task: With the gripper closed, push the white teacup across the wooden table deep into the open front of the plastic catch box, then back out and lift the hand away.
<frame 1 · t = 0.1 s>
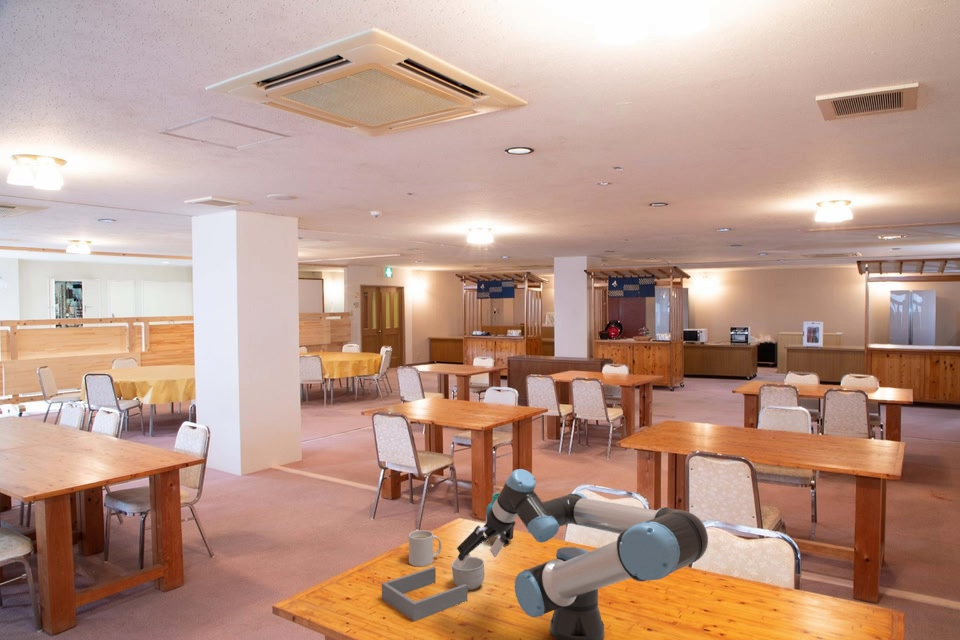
hand: (476, 559, 189), 15 cm above the table, tool tilted 35°, fingers open, 13 cm apart
mug: (423, 562, 226), on the table
teacup: (469, 584, 207), on the table
catch box: (424, 600, 195), on the table
vase: (499, 543, 244), on the table
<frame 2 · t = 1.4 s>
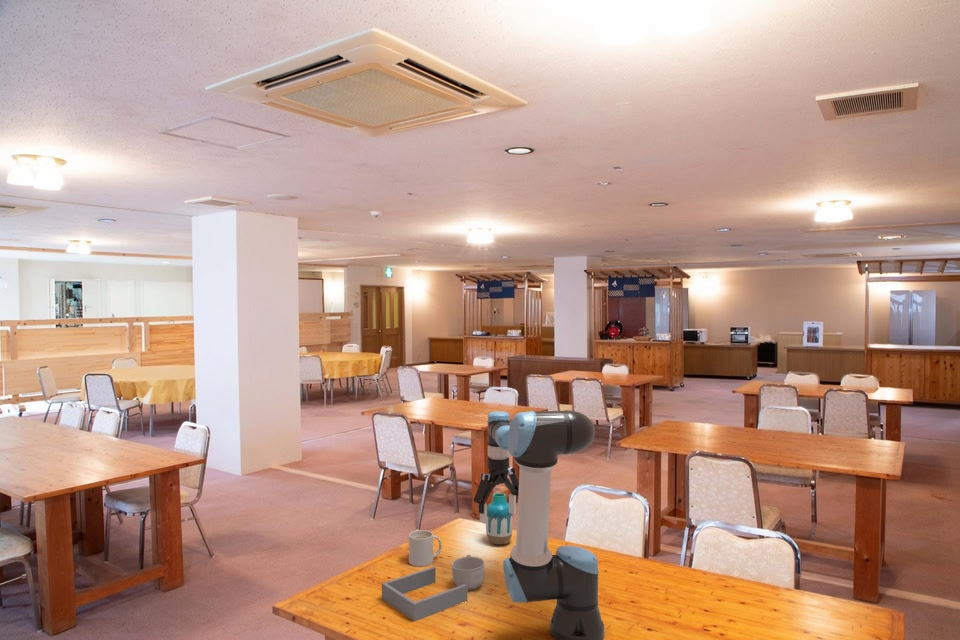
hand: (498, 517, 214), 20 cm above the table, tool pointing down, fingers open, 13 cm apart
nothing on the table moved.
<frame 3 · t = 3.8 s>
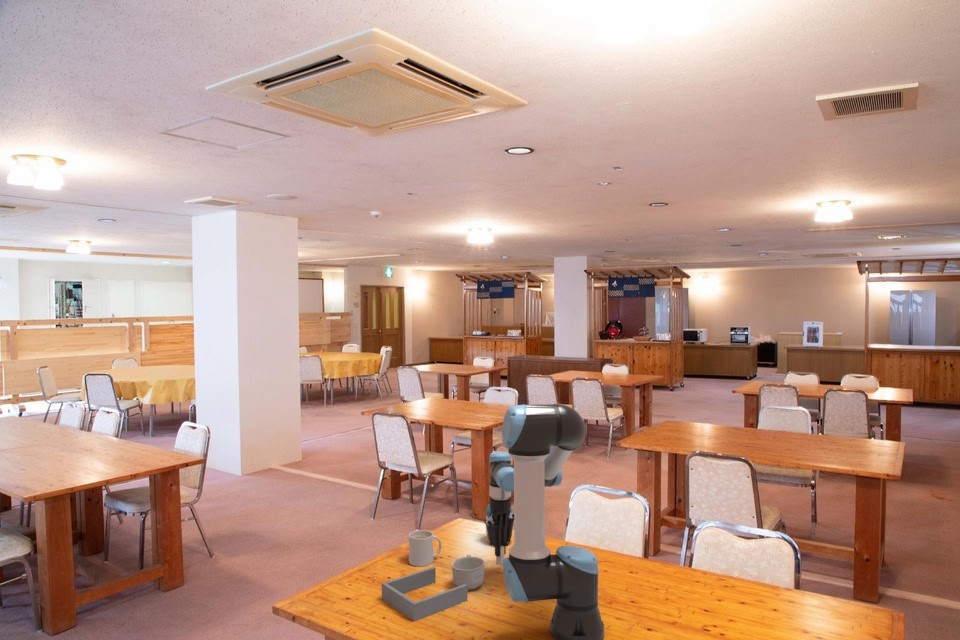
hand: (500, 564, 216), 3 cm above the table, tool pointing down, fingers closed
nothing on the table moved.
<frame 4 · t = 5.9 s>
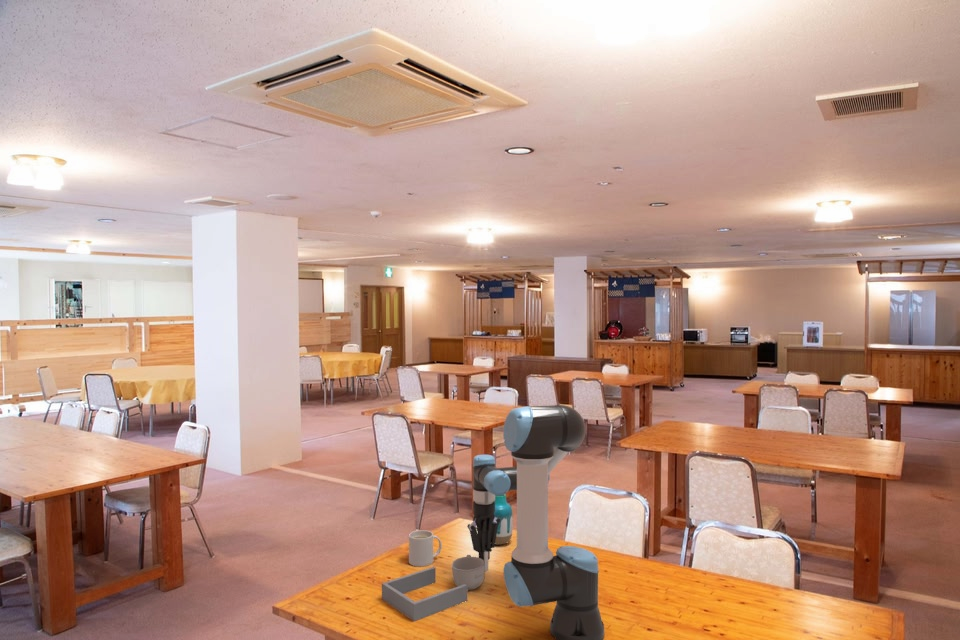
hand: (484, 570, 211), 3 cm above the table, tool pointing down, fingers closed
teacup: (469, 584, 207), on the table, touching gripper
everything else where it was.
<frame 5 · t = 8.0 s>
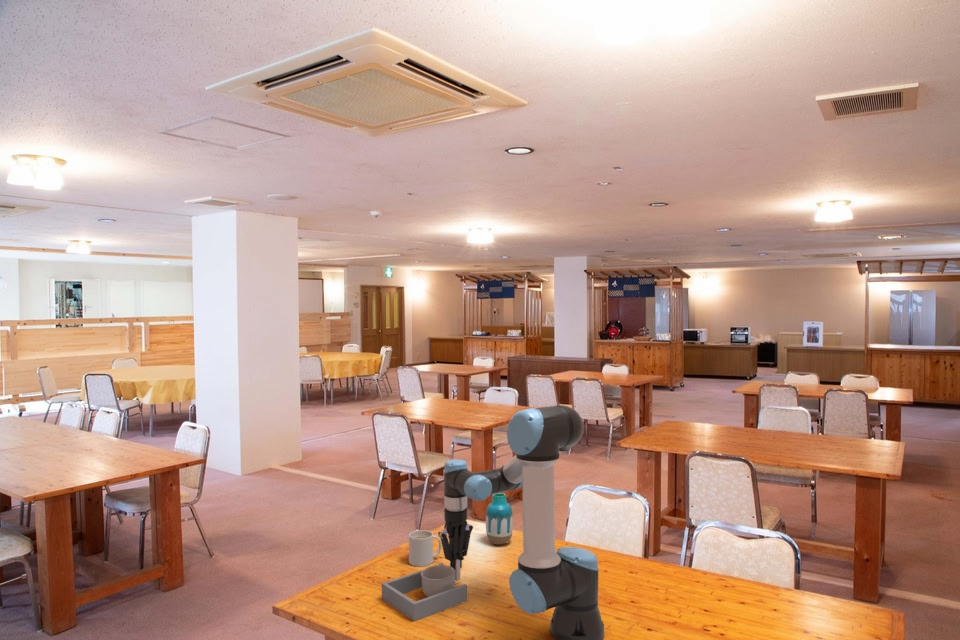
hand: (456, 579, 204), 3 cm above the table, tool pointing down, fingers closed
teacup: (439, 594, 200), on the table, touching gripper
everything else where it was.
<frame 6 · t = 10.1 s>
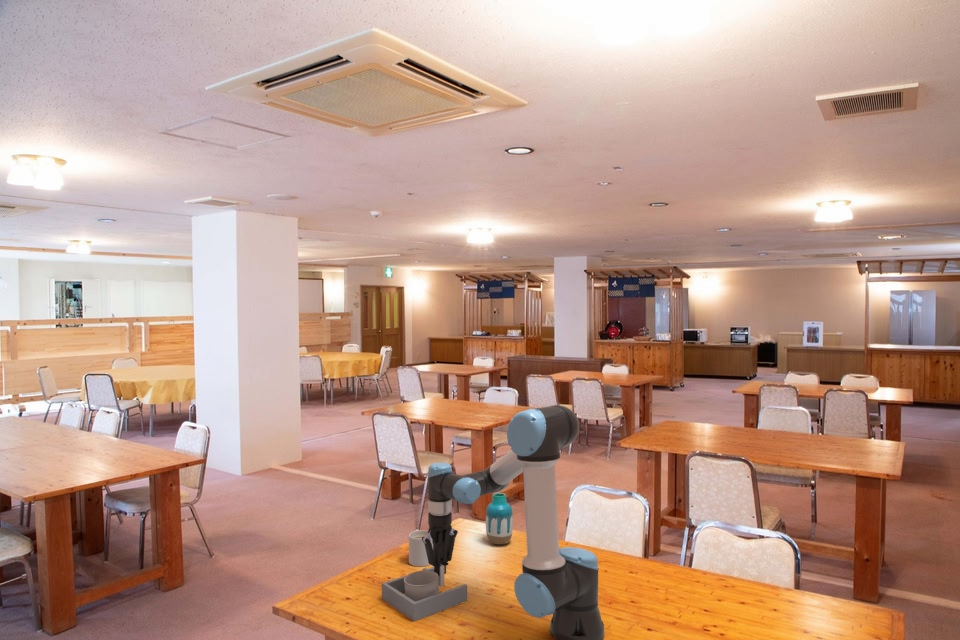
hand: (440, 584, 199), 3 cm above the table, tool pointing down, fingers closed
teacup: (423, 600, 196), on the table, touching gripper
everything else where it was.
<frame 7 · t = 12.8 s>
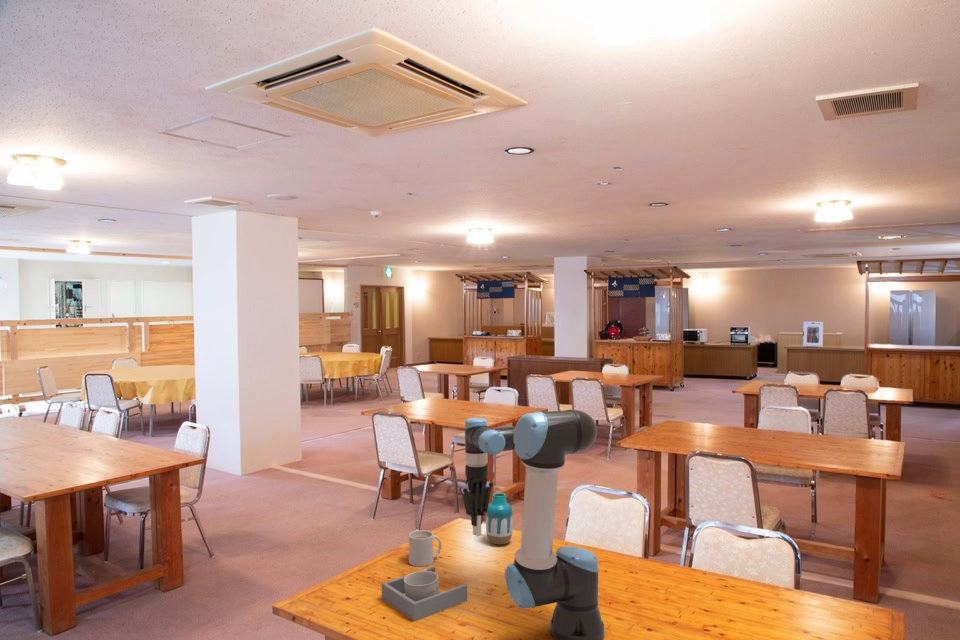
hand: (477, 534, 208), 16 cm above the table, tool pointing down, fingers closed
teacup: (423, 600, 196), on the table
everything else where it was.
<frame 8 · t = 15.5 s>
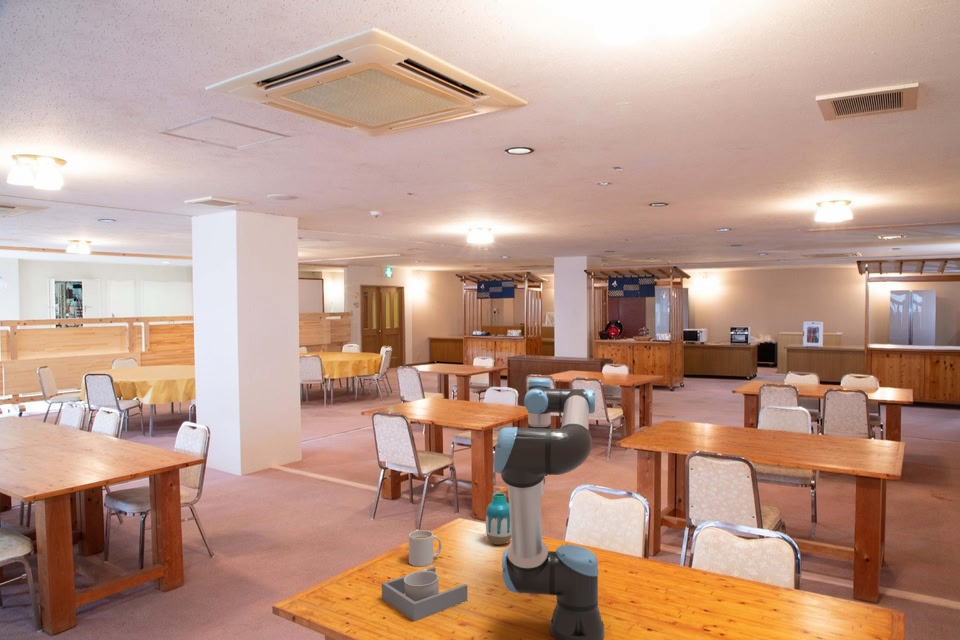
hand: (539, 494, 208), 29 cm above the table, tool pointing down, fingers closed
nothing on the table moved.
at the end: teacup inside the target area on the catch box (1.5 cm from its centre), point 0.0 cm above the catch box's base; teacup tilted 0° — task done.
